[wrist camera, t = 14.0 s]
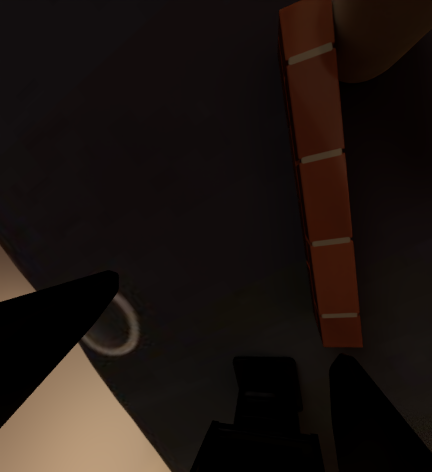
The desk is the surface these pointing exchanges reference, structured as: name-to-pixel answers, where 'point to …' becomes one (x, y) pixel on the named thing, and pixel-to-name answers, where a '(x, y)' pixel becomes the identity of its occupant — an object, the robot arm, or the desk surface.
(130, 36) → the desk surface
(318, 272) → the brick wall
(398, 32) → the candle
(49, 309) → the robot arm
